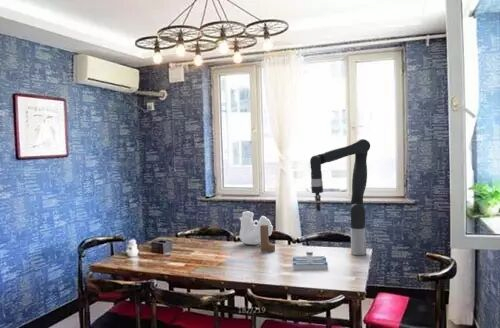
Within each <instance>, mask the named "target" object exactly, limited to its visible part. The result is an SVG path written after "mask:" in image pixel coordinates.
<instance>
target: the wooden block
mask: <svg viewBox="0 0 500 328" xmlns="http://www.w3.org/2000/svg"><path fill="white" fill-rule="evenodd" d="M260 235H261V242H260V252H263V251H264V252H266V253H274V252H275V251H276V245H275V243H272V242H270V240H269V239H270V238H269V237H270V236H269V234H268V225H261V226H260Z"/></svg>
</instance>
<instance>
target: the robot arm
mask: <svg viewBox="0 0 500 328" xmlns="http://www.w3.org/2000/svg"><path fill="white" fill-rule="evenodd" d="M370 149H371V144H370V141H368V139H365V138H361V139H358V140H357V141H355V142H353V143H352V144H349V145H347V146H346V145H345V146H343V147H338V148H335V149H332V150H328V151H325V152H323V153H320V154H316V155H312V156H311V157H310V159H309V163H310V164H309V165H310V177H311V178H310V179H311V181H310V184H311V186H310V187H311V189H310V190H311V193H312V194H314V202H315V208H316V211H317V212H320V211H321V204H322V203H321V202H322V200H321V198H322V196H321V193H324V186H323V185H324V184H323V183H324V182H323V174H322V173H323V172H322V165H323V164H326V163H331V162H334V161H338V160H340V159H343V158H346V157H349V156H352V155H354V158H355V159H354V165H353V169H352V178H351V180H352V181H351V199H350V205H349V212H350V224H349V225H350V253H351V255H354V256H365V254H366V255H367V240H366V208H365V207H364V194H365V191H366V187H367V183H368V182H367V181H368V166H367V165H368V164H367V160H368V158H367V157H368V152H369V151H370Z"/></svg>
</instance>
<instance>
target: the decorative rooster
mask: <svg viewBox="0 0 500 328" xmlns="http://www.w3.org/2000/svg"><path fill="white" fill-rule="evenodd" d="M254 216H255V215H254V212H252V211H249V210H246V211H243V212H242V213H241V217H238V218H239V220H240V230H239V240H240V241H241V243H242V244H244V245H245V244H246V245H255V246H256V245H259V244H261V235H260V226H261V225H268V234H269V237H270V236H271V235H272V233H273V230H274V226H273V225H272V222H271V220H270V219H269V218H268V217H266V216H265V215H261V216H260V217H259V220H257V219H255V220H254ZM256 223H257V224H256Z"/></svg>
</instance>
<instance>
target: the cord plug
mask: <svg viewBox="0 0 500 328" xmlns="http://www.w3.org/2000/svg"><path fill="white" fill-rule="evenodd" d="M306 256H307V263H313V256H314V253H313V251H312V250H307V251H306Z"/></svg>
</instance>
